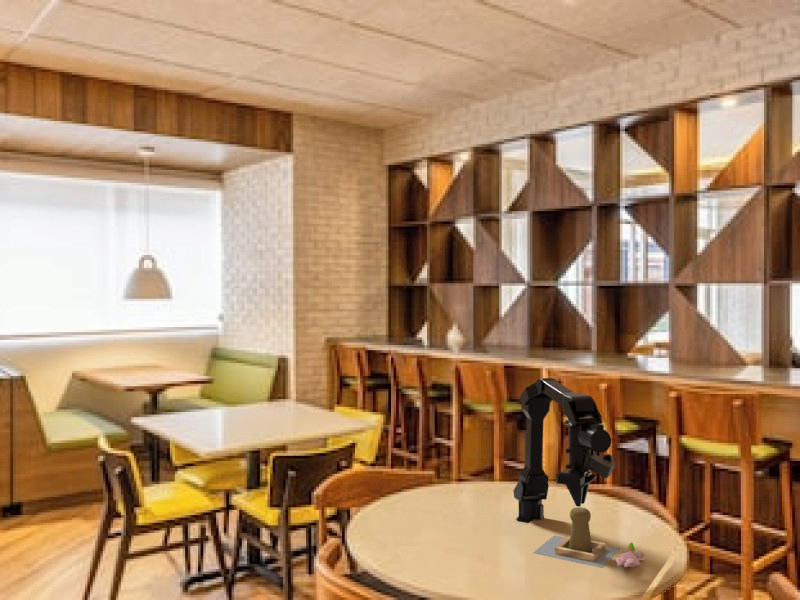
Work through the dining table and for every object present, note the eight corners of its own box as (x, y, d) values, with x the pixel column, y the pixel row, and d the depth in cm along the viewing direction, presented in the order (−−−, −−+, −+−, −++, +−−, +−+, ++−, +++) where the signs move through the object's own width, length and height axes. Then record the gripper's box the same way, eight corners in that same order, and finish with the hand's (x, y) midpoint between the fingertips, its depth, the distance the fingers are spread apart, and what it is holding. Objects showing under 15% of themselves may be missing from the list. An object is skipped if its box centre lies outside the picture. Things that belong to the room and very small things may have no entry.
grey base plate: (532, 556, 175) (532, 552, 175) (554, 539, 188) (554, 535, 188) (602, 571, 165) (602, 567, 165) (620, 552, 178) (620, 548, 178)
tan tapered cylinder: (593, 556, 173) (593, 512, 172) (569, 554, 174) (568, 511, 174) (591, 547, 178) (591, 505, 178) (567, 546, 180) (567, 504, 180)
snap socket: (554, 553, 175) (554, 547, 175) (568, 541, 183) (568, 536, 183) (593, 561, 169) (593, 555, 169) (605, 549, 177) (605, 543, 177)
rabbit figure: (624, 560, 176) (608, 570, 163) (624, 536, 177) (609, 545, 164) (649, 565, 173) (635, 576, 160) (649, 541, 173) (636, 550, 161)
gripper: (599, 455, 164) (600, 520, 164) (621, 441, 179) (622, 500, 179) (555, 449, 170) (555, 512, 170) (580, 436, 185) (580, 494, 185)
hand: (580, 504), depth 176 cm, fingers open, 3 cm apart
